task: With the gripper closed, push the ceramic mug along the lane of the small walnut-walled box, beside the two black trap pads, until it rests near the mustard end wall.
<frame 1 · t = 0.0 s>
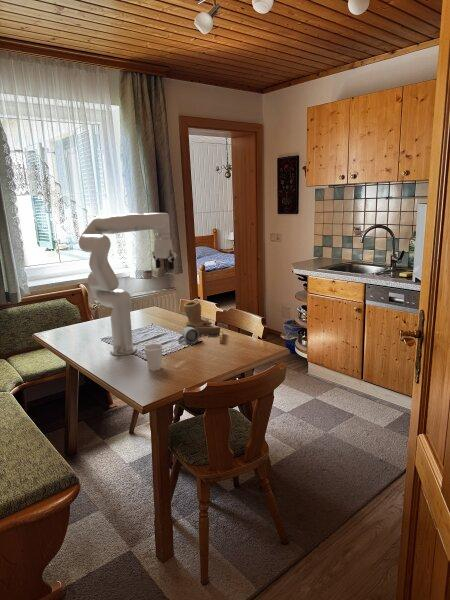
hand: (164, 268, 222), 37 cm above the table, tool pointing down, fingers open, 9 cm apart
tan boot: (196, 326, 245), on the table
ceramic mug: (188, 341, 218), on the table
dixie cup: (154, 368, 183), on the table
trap box: (203, 339, 221), on the table
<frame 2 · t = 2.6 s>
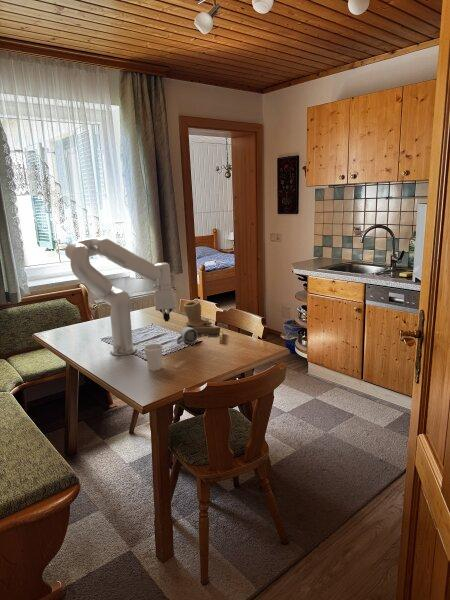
hand: (166, 320, 216), 11 cm above the table, tool pointing down, fingers closed
nothing on the table moved.
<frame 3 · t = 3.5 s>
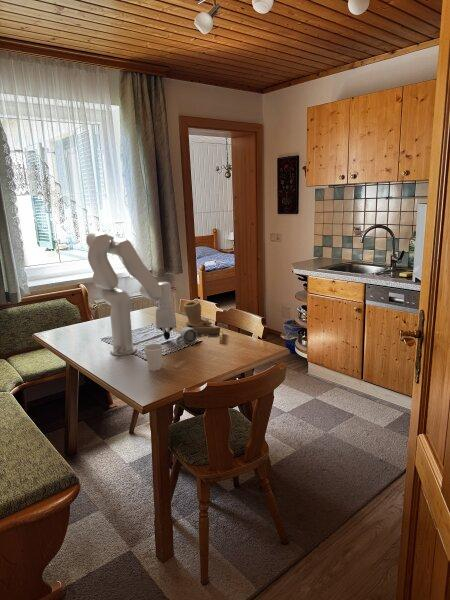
hand: (167, 339, 218), 1 cm above the table, tool pointing down, fingers closed
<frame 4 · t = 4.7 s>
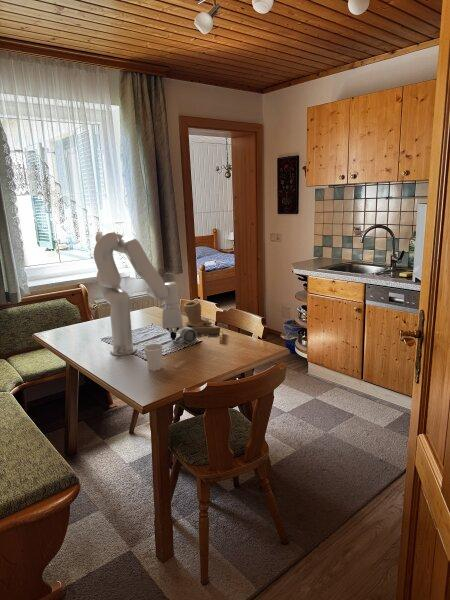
hand: (173, 339, 218), 1 cm above the table, tool pointing down, fingers closed
ceramic mug: (186, 342, 217), on the table, touching gripper
everything else where it was.
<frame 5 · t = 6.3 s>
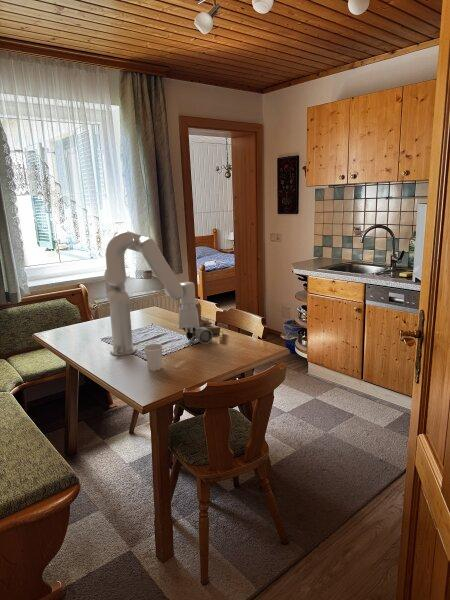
hand: (189, 339, 218), 1 cm above the table, tool pointing down, fingers closed
ceramic mug: (201, 342, 216), on the table
everything else where it was.
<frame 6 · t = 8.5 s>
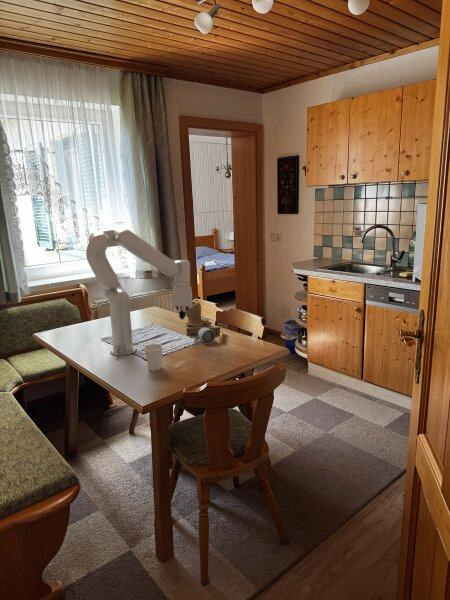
hand: (182, 318, 215), 13 cm above the table, tool pointing down, fingers closed
ceramic mug: (204, 342, 216), on the table
everything else where it was.
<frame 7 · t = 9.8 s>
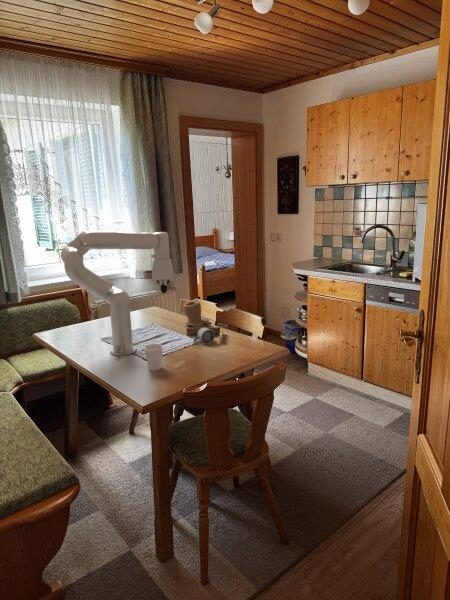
hand: (164, 292, 210), 27 cm above the table, tool pointing down, fingers closed
nothing on the table moved.
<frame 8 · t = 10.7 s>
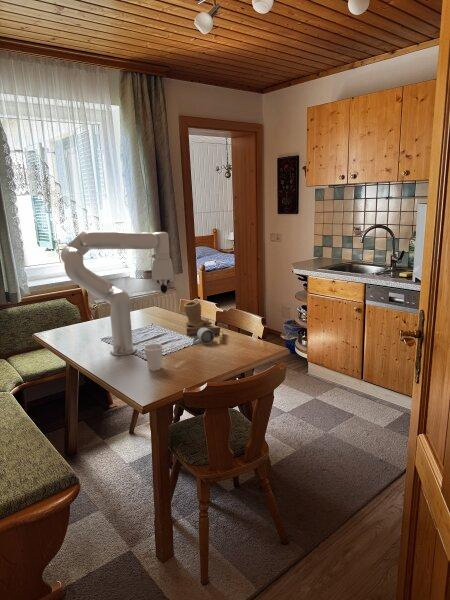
hand: (164, 292, 210), 27 cm above the table, tool pointing down, fingers closed
nothing on the table moved.
at the end: ceramic mug inside the target area on the trap box (4.4 cm from its centre), point 0.0 cm above the trap box's base; ceramic mug tilted 0° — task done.
